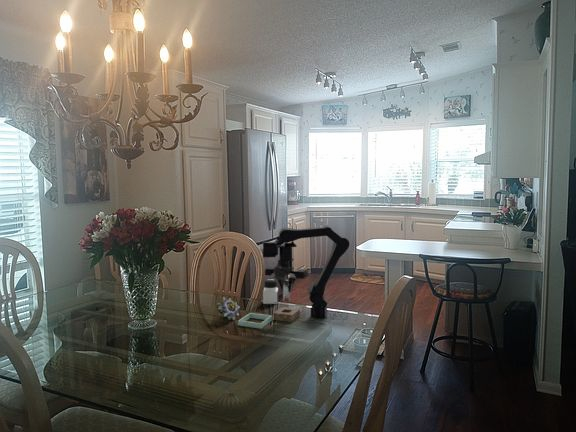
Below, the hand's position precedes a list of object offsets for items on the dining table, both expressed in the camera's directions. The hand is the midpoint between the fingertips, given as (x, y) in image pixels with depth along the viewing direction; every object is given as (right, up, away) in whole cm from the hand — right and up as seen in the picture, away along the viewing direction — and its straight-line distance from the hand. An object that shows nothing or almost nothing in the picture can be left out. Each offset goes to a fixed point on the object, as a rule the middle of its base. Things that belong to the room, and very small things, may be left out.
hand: (286, 291), depth 197 cm
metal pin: (0, -4, 0) cm, 4 cm away
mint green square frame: (-13, -14, -5) cm, 20 cm away
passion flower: (-27, -13, +4) cm, 30 cm away
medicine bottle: (-8, -11, +25) cm, 29 cm away
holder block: (0, -13, +1) cm, 13 cm away
